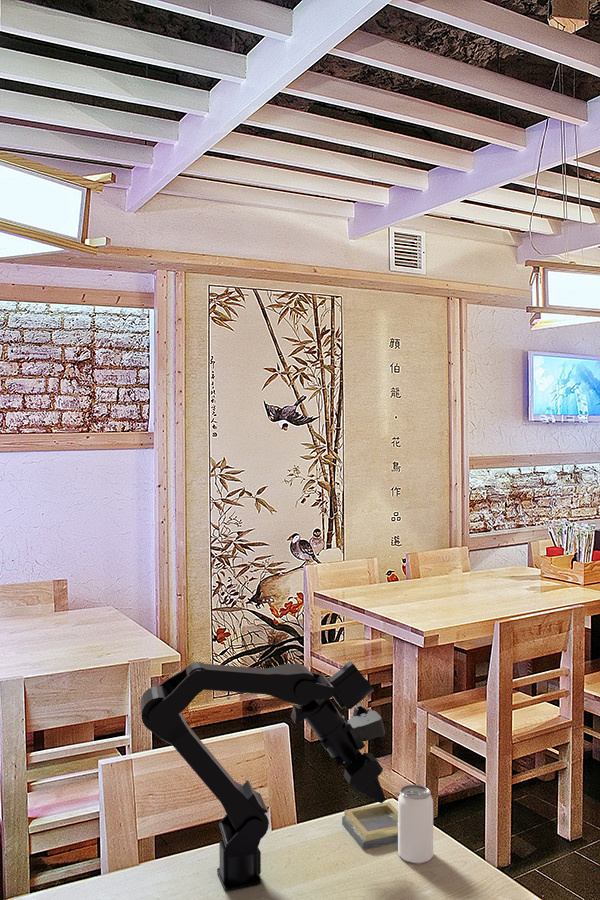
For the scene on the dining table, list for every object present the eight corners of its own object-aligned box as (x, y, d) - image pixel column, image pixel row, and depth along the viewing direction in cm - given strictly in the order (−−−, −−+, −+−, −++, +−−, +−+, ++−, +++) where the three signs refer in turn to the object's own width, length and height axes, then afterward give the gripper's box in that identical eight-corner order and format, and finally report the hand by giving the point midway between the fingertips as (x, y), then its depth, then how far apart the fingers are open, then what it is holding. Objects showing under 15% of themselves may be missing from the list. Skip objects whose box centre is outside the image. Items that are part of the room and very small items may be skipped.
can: (435, 865, 138) (435, 799, 138) (400, 864, 138) (400, 799, 138) (430, 845, 145) (430, 783, 144) (396, 845, 145) (396, 783, 144)
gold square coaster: (362, 849, 143) (362, 835, 143) (342, 823, 153) (342, 810, 153) (414, 839, 147) (414, 825, 147) (391, 814, 156) (391, 801, 156)
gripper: (381, 715, 130) (428, 783, 133) (347, 681, 148) (390, 741, 151) (330, 757, 128) (379, 826, 130) (302, 717, 146) (346, 778, 149)
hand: (374, 789), depth 140 cm, fingers open, 9 cm apart
